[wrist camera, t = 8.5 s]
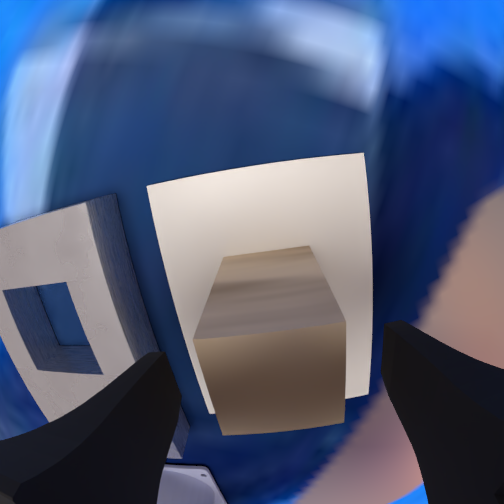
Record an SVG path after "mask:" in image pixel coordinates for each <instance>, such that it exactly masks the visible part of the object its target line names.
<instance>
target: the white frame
mask: <svg viewBox="0 0 504 504" xmlns="http://www.w3.org/2000/svg"><path fill="white" fill-rule="evenodd" d="M60 282H67V285H68V288H69V291H70V294H71V297H72V300H73V303H74V305H75V308H76V311H77V313H78V316H79V319H80V321H81V324H82V326H83V329H84V331H85V334H86V336H87V339H88V341H89V343H90V346H60V345H59V343H58V341H57V339H56V336H55V334H54V332H53V329H52V327H51V325H50V322H49V320H48V317H47V315H46V312H45V310H44V307H43V304H42V302H41V299H40V296H39V293H38V291H37V288H36V286H38V285H45V284H53V283H60ZM0 336H1V338H2V340H3V342H4V344H5V346H6V348H7V350H8V352H9V354H10V356H11V358H12V360H13V362H14V364H15V366H16V368H17V370H18V372H19V374H20V375H21V377H22V379H23V381H24V383H25V384H26V386H27V388H28V389H29V391H30V393H31V394H32V396H33V398H34V399H35V401H36V403H37V404H38V406H39V407H40V409H41V410H42V412H43V413H44V415H45V417H46V418H47V419H48V421H49V422H52V421H54V420H56V419H58V418H60V417H62V416H63V415H65V414H67V413H68V412H70V411H72V410H73V409H75V408H77V407H78V406H80V405H81V404H83V403H84V402H86V401H87V400H88V399H90V398H91V397H92V396H94V395H95V394H96V393H98V392H99V391H101V390H102V389H103V388H105V387H106V386H107V385H108V384H110V383H111V382H112V381H113V380H115V379H116V378H117V377H118V376H119V375H121V374H122V373H123V372H124V371H126V370H127V369H128V368H129V367H130V366H132V365H133V364H134V363H135V362H136V361H138V360H139V359H140V358H141V357H143V356H144V355H146V354H147V353H149V352H160V351H159V348H158V345H157V342H156V339H155V336H154V333H153V331H152V328H151V325H150V321H149V318H148V315H147V312H146V309H145V306H144V303H143V299H142V296H141V293H140V289H139V286H138V282H137V279H136V275H135V272H134V268H133V265H132V261H131V257H130V253H129V249H128V245H127V241H126V237H125V233H124V229H123V225H122V220H121V216H120V211H119V207H118V202H117V197H116V193H115V194H111V195H107V196H103V197H99V198H95V199H91V200H88V201H84V202H80V203H77V204H73V205H70V206H66V207H63V208H59V209H56V210H53V211H49V212H46V213H43V214H40V215H36V216H33V217H30V218H27V219H24V220H21V221H18V222H15V223H12V224H9V225H6V226H3V227H0ZM189 429H190V426H189V423H188V421H187V419H186V417H185V414H184V412H183V410H182V407H181V405H180V412H179V418H178V422H177V426H176V429H175V433H174V436H173V439H172V442H171V446H170V449H169V452H168V455H167V458H176V459H182V457H183V453H184V449H185V445H186V441H187V437H188V433H189Z"/></svg>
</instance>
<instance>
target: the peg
mask: <svg viewBox="0 0 504 504" xmlns="http://www.w3.org/2000/svg"><path fill="white" fill-rule="evenodd" d="M193 343H194V346H195V350H196V353H197V357H198V360H199V363H200V367H201V370H202V373H203V377H204V380H205V383H206V386H207V389H208V392H209V395H210V399H211V402H212V405H213V408H214V411H215V414H216V416H217V419H218V422H219V425H220V428H221V431H222V434H223V435H241V434H258V433H270V432H281V431H290V430H298V429H306V428H313V427H320V426H326V425H332V424H338V423H343V422H344V411H345V388H346V320H345V318H344V316H343V314H342V311H341V309H340V307H339V305H338V303H337V301H336V299H335V297H334V295H333V293H332V290H331V288H330V286H329V284H328V282H327V280H326V278H325V276H324V274H323V272H322V270H321V268H320V266H319V264H318V262H317V260H316V258H315V256H314V254H313V252H312V250H311V248H310V246H301V247H294V248H287V249H279V250H272V251H264V252H257V253H249V254H242V255H235V256H227V257H223V259H222V262H221V265H220V267H219V270H218V272H217V275H216V278H215V280H214V283H213V286H212V288H211V291H210V294H209V296H208V299H207V302H206V304H205V307H204V310H203V312H202V315H201V318H200V321H199V323H198V326H197V329H196V331H195V334H194V337H193Z"/></svg>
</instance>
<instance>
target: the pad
mask: <svg viewBox="0 0 504 504" xmlns="http://www.w3.org/2000/svg"><path fill="white" fill-rule="evenodd" d="M147 190H148V195H149V200H150V205H151V210H152V215H153V219H154V224H155V229H156V233H157V237H158V242H159V246H160V250H161V254H162V258H163V263H164V267H165V271H166V274H167V278H168V282H169V286H170V290H171V294H172V297H173V301H174V304H175V308H176V312H177V315H178V319H179V322H180V325H181V329H182V332H183V336H184V339H185V342H186V345H187V349H188V352H189V355H190V358H191V361H192V364H193V367H194V370H195V374H196V377H197V379H198V382H199V385H200V388H201V391H202V394H203V397H204V400H205V403H206V405H207V408H208V411H209V414H215V411H214V408H213V405H212V402H211V399H210V395H209V392H208V389H207V386H206V383H205V380H204V377H203V373H202V370H201V367H200V363H199V360H198V357H197V353H196V350H195V346H194V343H193V337H194V334H195V331H196V329H197V326H198V323H199V321H200V318H201V315H202V312H203V310H204V307H205V304H206V302H207V299H208V296H209V294H210V291H211V288H212V286H213V283H214V280H215V278H216V275H217V272H218V270H219V267H220V265H221V262H222V259H223V257H227V256H235V255H242V254H249V253H257V252H264V251H272V250H279V249H287V248H294V247H301V246H310V248H311V250H312V252H313V254H314V256H315V258H316V260H317V262H318V264H319V266H320V268H321V270H322V272H323V274H324V276H325V278H326V280H327V282H328V284H329V286H330V288H331V290H332V293H333V295H334V297H335V299H336V301H337V303H338V305H339V307H340V309H341V311H342V314H343V316H344V318H345V320H346V388H345V399H347V398H352V397H357V396H362V395H366V394H368V391H369V379H370V365H371V346H372V315H373V277H372V244H371V226H370V211H369V199H368V188H367V178H366V169H365V160H364V153H355V154H344V155H334V156H324V157H315V158H306V159H298V160H290V161H283V162H275V163H268V164H261V165H255V166H248V167H242V168H236V169H230V170H224V171H218V172H213V173H207V174H202V175H197V176H191V177H186V178H181V179H176V180H171V181H167V182H162V183H157V184H153V185H149V186H147Z"/></svg>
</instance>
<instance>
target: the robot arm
mask: <svg viewBox="0 0 504 504" xmlns="http://www.w3.org/2000/svg"><path fill="white" fill-rule="evenodd" d="M381 374H382V377H383V380H384V384H385V387H386V390H387V393H388V396H389V398H390V400H391V402H392V404H393V406H394V408H395V410H396V413H397V415H398V417H399V419H400V421H401V423H402V425H403V427H404V429H405V431H406V433H407V436H408V438H409V440H410V442H411V444H412V446H413V449H414V451H415V454H416V457H417V461H418V464H419V467H420V470H421V474H422V478H423V482H424V486H425V490H426V494H427V499H428V504H504V369H501V368H498V367H495V366H493V365H490V364H487V363H484V362H482V361H479V360H477V359H474V358H472V357H470V356H468V355H466V354H464V353H461V352H459V351H457V350H455V349H453V348H451V347H449V346H448V345H446V344H444V343H442V342H440V341H438V340H437V339H435V338H433V337H431V336H429V335H428V334H426V333H424V332H422V331H421V330H419V329H417V328H415V327H414V326H412V325H410V324H408V323H406V322H404V321H402V320H399V321H395V322H390V323H385V324H384V337H383V352H382V365H381ZM181 397H182V396H181V393H180V391H179V388H178V385H177V383H176V380H175V378H174V375H173V372H172V370H171V367H170V364H169V361H168V359H167V356H166V353H165V352H149V353H147V354H146V355H144V356H143V357H141V358H140V359H139V360H138V361H136V362H135V363H134V364H133V365H132V366H130V367H129V368H128V369H127V370H126V371H124V372H123V373H122V374H121V375H119V376H118V377H117V378H116V379H115V380H113V381H112V382H111V383H110V384H108V385H107V386H106V387H105V388H103V389H102V390H101V391H99V392H98V393H96V394H95V395H94V396H92V397H91V398H90V399H88V400H87V401H86V402H84V403H83V404H81V405H80V406H78V407H77V408H75V409H73V410H72V411H70V412H68V413H67V414H65V415H63V416H62V417H60V418H58V419H56V420H54V421H52V422H50V423H47V424H45V425H43V426H41V427H39V428H37V429H35V430H32V431H29V432H27V433H24V434H21V435H18V436H15V437H12V438H9V439H5V440H1V441H0V504H227V502H226V501H225V499H224V497H223V495H222V493H221V492H220V490H219V488H218V486H217V484H216V482H215V481H214V479H213V477H212V475H211V473H210V471H209V469H208V468H206V467H204V466H184V465H168V464H165V462H166V459H167V455H168V452H169V449H170V446H171V442H172V439H173V436H174V433H175V429H176V426H177V422H178V418H179V412H180V405H181Z"/></svg>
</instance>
